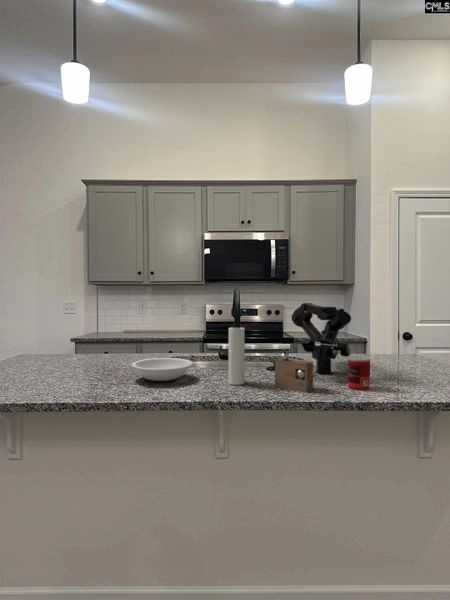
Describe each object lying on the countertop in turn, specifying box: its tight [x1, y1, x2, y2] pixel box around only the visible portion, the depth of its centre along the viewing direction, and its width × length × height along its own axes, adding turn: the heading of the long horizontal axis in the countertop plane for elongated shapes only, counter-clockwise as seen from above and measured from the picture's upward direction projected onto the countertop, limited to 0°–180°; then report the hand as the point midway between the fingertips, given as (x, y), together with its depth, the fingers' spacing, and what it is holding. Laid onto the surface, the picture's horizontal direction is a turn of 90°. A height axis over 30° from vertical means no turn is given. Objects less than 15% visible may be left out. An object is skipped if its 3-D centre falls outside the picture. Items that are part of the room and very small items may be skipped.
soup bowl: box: [131, 357, 194, 382], centre depth 154 cm, size 24×24×7 cm
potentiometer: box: [280, 348, 290, 361], centre depth 142 cm, size 3×3×4 cm
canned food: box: [347, 355, 371, 391], centre depth 141 cm, size 8×8×11 cm
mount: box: [274, 358, 314, 393], centre depth 141 cm, size 7×12×10 cm, turn 54°
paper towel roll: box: [228, 326, 246, 386], centre depth 147 cm, size 7×6×21 cm
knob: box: [296, 365, 317, 379], centre depth 139 cm, size 7×6×6 cm
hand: (319, 364), depth 150 cm, fingers closed
